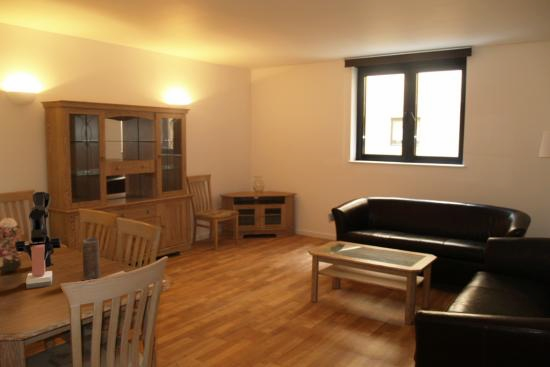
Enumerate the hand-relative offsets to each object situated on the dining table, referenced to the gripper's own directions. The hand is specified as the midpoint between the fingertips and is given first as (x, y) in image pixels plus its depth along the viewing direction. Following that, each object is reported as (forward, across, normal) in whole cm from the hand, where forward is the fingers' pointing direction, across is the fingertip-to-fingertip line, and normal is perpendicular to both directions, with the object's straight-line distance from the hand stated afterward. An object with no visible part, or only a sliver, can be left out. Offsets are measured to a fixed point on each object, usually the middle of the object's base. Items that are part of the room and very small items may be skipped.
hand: (38, 260), depth 207 cm
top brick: (+4, 0, +6) cm, 7 cm away
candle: (+11, +22, +6) cm, 25 cm away
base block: (+7, 0, +9) cm, 12 cm away
